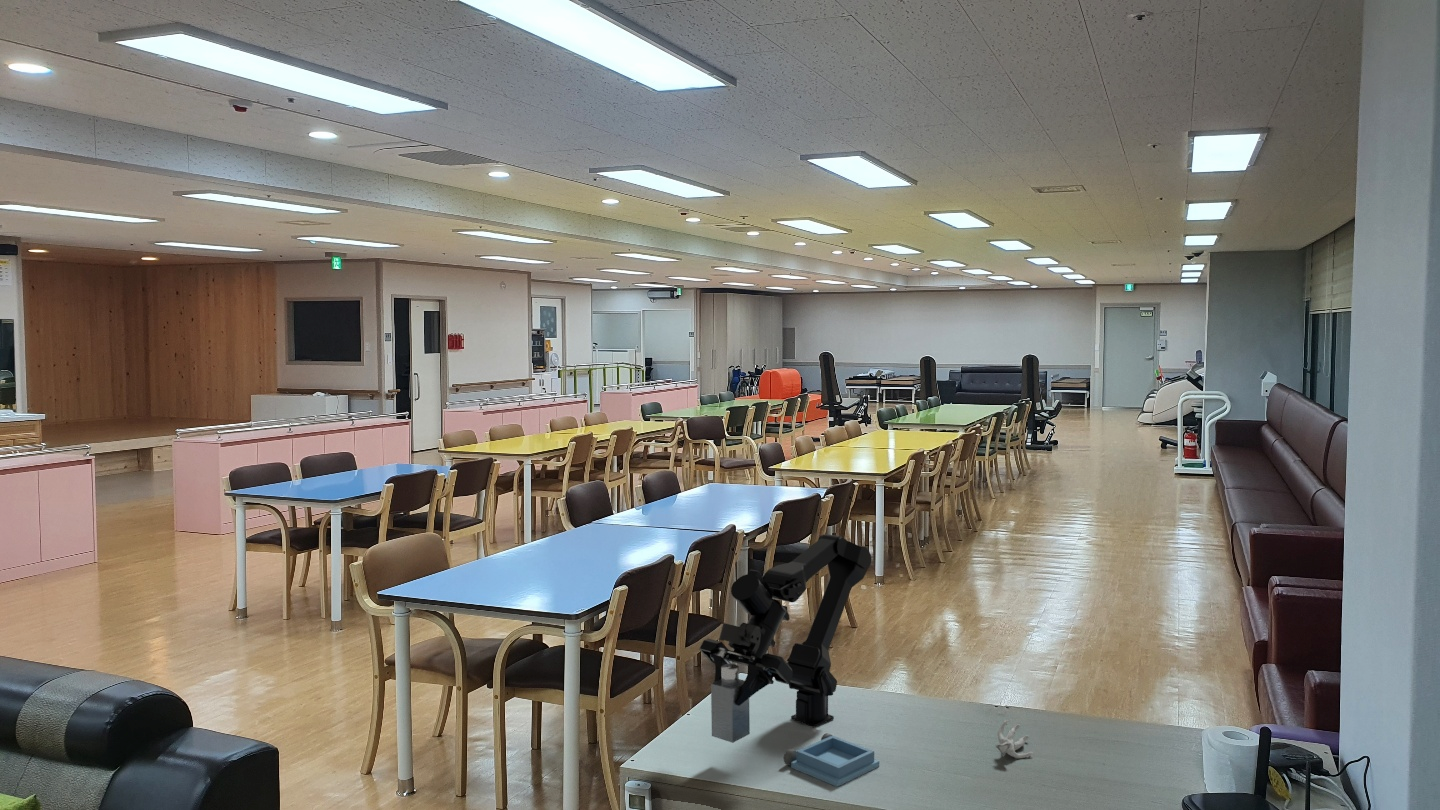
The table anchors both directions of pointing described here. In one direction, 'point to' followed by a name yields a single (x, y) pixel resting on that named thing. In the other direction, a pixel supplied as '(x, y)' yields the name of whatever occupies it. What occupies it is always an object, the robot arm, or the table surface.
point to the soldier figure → (1011, 742)
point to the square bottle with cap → (729, 706)
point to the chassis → (832, 760)
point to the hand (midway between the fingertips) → (725, 701)
